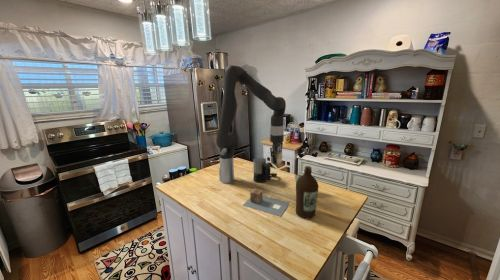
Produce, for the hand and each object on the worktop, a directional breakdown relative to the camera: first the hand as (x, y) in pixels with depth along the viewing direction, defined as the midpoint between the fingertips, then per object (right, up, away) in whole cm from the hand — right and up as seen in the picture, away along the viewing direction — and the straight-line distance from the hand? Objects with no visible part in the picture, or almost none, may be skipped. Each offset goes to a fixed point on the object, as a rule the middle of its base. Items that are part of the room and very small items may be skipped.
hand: (276, 161), depth 121 cm
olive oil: (+13, -25, -16) cm, 32 cm away
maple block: (0, 0, 0) cm, 0 cm away
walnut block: (-12, -22, -4) cm, 25 cm away
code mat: (-6, -22, -7) cm, 24 cm away
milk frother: (-5, -15, +25) cm, 29 cm away
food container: (+17, -19, +6) cm, 26 cm away
